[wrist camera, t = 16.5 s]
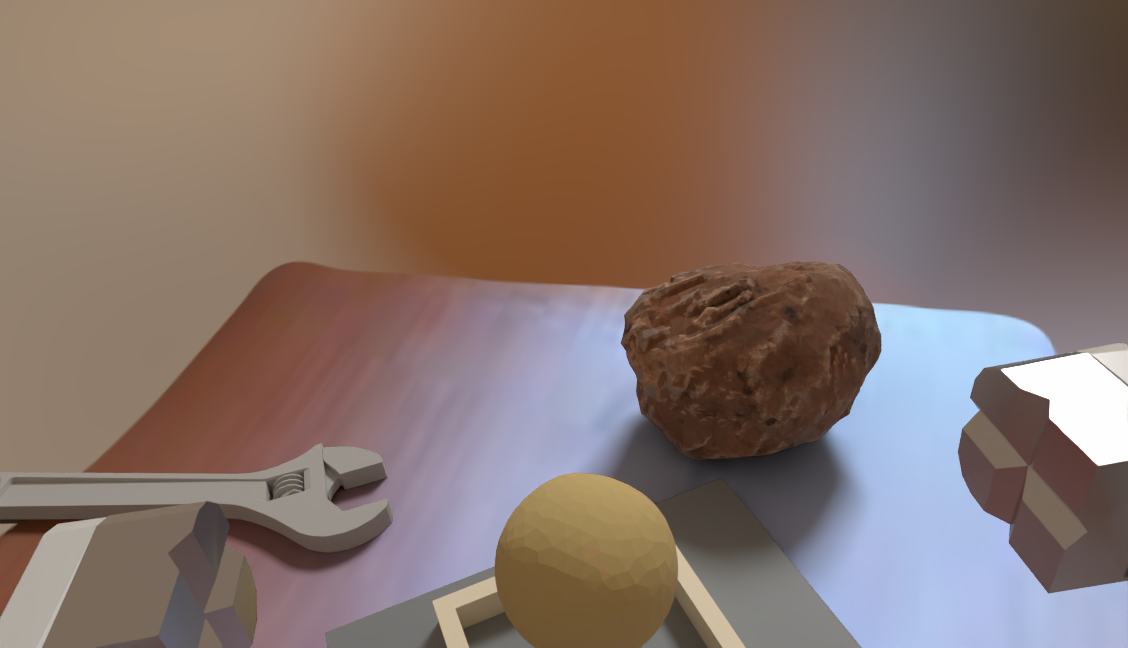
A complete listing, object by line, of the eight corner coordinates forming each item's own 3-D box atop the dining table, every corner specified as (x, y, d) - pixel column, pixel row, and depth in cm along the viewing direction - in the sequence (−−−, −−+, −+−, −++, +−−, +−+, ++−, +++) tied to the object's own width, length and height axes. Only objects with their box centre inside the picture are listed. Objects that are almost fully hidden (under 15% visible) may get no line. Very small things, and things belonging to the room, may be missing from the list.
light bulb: (635, 789, 28) (622, 620, 23) (488, 709, 31) (444, 541, 26) (704, 644, 33) (707, 472, 27) (569, 586, 36) (547, 419, 30)
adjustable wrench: (-48, 527, 44) (-65, 505, 43) (33, 446, 50) (20, 425, 49) (373, 560, 40) (365, 537, 39) (414, 468, 45) (408, 444, 44)
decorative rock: (860, 365, 48) (884, 217, 42) (879, 508, 39) (912, 344, 33) (642, 352, 51) (636, 212, 45) (614, 482, 42) (602, 328, 36)
